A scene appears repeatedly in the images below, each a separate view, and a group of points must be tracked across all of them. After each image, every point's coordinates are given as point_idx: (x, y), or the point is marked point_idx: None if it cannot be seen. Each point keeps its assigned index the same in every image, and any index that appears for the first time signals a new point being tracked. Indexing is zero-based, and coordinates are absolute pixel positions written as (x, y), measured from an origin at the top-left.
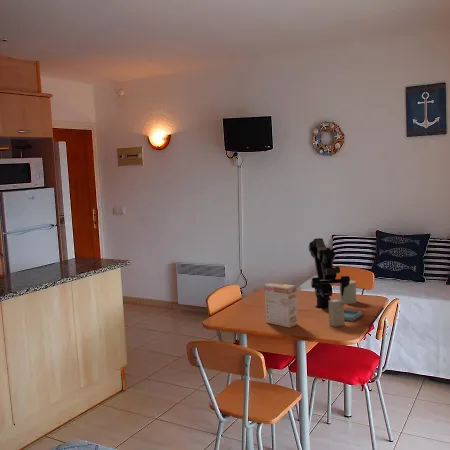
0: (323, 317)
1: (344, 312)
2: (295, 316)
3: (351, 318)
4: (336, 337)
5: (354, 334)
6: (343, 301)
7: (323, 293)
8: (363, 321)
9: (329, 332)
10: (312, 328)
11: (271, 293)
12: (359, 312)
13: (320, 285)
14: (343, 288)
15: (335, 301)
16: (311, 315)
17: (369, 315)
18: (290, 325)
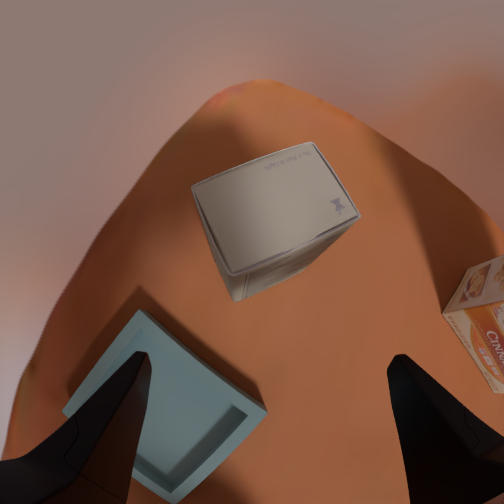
0: (298, 431)
1: (153, 471)
2: (477, 293)
3: (146, 314)
4: (298, 107)
5: (216, 119)
6: (197, 188)
7: (417, 375)
8: (94, 296)
9: None
10: (389, 237)
11: None
12: (75, 397)
13: (496, 451)
14: (78, 417)
15: (294, 162)
16: (351, 469)
17: (43, 387)
18: (469, 271)
